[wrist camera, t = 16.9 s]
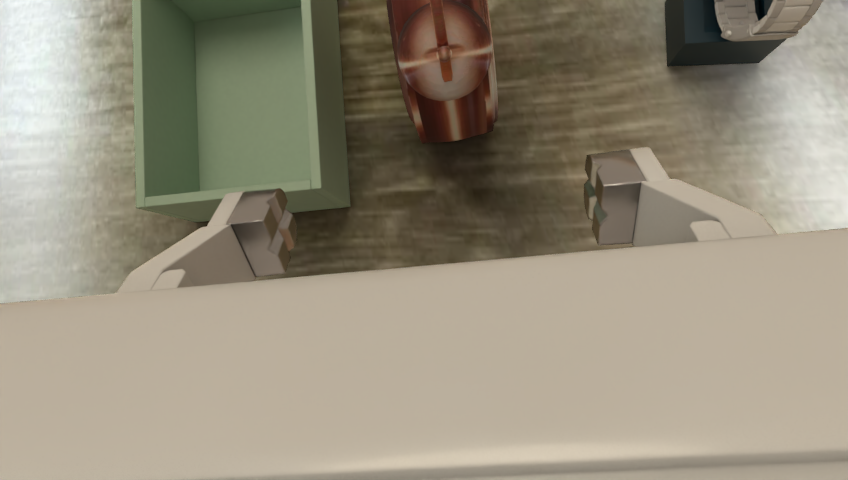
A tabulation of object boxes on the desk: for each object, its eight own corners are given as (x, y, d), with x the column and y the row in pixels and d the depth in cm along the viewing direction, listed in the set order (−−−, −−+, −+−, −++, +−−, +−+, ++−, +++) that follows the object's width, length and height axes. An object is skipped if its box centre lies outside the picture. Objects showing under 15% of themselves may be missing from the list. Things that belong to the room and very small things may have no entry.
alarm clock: (497, 157, 34) (506, 54, 20) (425, 168, 35) (381, 77, 20) (473, 3, 36) (465, -203, 21) (405, 17, 36) (348, -175, 21)
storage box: (195, 222, 36) (135, 208, 30) (189, 18, 38) (130, -36, 32) (350, 206, 35) (321, 188, 29) (337, -4, 37) (306, -64, 31)
